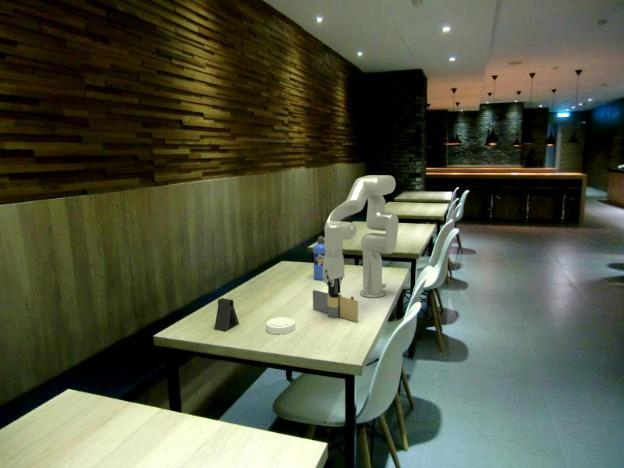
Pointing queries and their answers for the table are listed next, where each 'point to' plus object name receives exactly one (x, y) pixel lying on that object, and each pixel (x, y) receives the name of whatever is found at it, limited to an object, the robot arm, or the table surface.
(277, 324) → the mooncake
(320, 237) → the water bottle
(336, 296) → the hinge pin
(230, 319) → the phone stand
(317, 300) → the hinge base
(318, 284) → the table surface
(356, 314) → the hinge leaf
